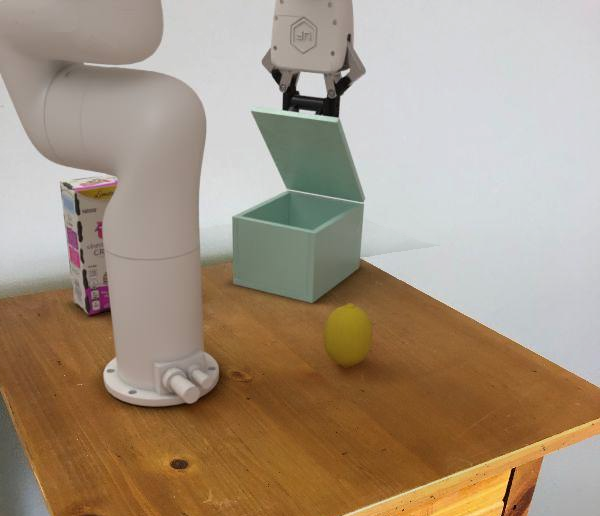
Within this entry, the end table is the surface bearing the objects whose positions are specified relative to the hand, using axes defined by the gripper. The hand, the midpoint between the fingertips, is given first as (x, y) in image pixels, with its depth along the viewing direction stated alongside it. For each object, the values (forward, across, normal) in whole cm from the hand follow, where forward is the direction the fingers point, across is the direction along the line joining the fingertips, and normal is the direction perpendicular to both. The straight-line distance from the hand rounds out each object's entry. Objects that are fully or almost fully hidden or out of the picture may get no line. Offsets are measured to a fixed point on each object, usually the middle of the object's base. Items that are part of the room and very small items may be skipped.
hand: (310, 124), depth 102 cm
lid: (+5, 0, 0) cm, 5 cm away
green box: (+21, 0, -2) cm, 21 cm away
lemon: (+22, +18, -24) cm, 37 cm away
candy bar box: (+22, -16, -23) cm, 35 cm away
